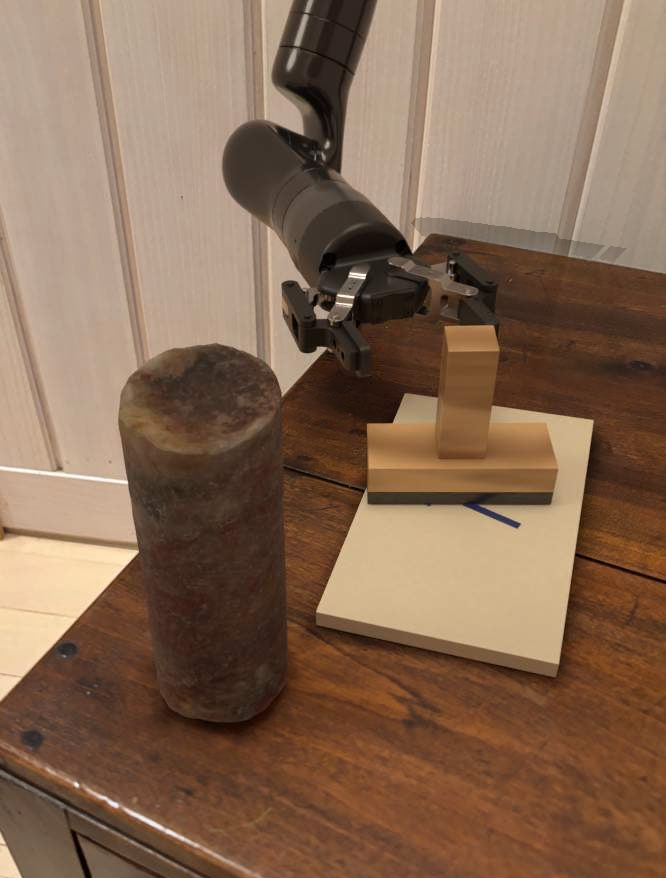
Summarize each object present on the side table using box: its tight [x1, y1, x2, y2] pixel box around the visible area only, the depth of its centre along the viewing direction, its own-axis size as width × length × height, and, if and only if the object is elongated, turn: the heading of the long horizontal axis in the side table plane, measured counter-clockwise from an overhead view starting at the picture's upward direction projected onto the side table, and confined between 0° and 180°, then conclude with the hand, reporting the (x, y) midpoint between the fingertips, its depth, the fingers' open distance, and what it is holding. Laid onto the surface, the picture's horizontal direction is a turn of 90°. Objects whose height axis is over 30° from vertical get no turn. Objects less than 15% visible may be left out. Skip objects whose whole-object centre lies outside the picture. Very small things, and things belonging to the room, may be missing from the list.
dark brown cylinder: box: [117, 342, 289, 724], centre depth 46 cm, size 8×7×20 cm
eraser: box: [365, 325, 559, 504], centre depth 59 cm, size 5×12×11 cm, turn 86°
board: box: [315, 392, 595, 678], centre depth 61 cm, size 24×14×1 cm, turn 161°
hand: (429, 351), depth 59 cm, fingers open, 8 cm apart
